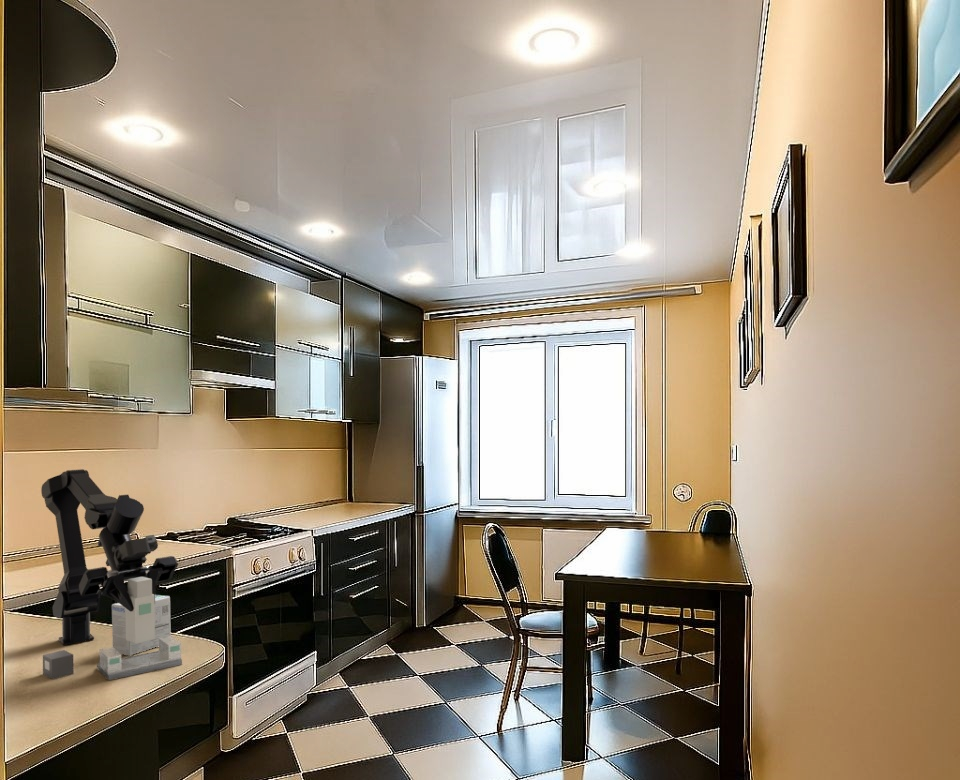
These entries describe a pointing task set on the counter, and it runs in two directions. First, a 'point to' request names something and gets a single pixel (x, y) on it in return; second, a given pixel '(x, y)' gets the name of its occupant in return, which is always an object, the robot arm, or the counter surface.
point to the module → (140, 611)
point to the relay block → (58, 664)
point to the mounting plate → (140, 660)
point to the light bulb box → (132, 648)
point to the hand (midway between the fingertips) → (142, 607)
